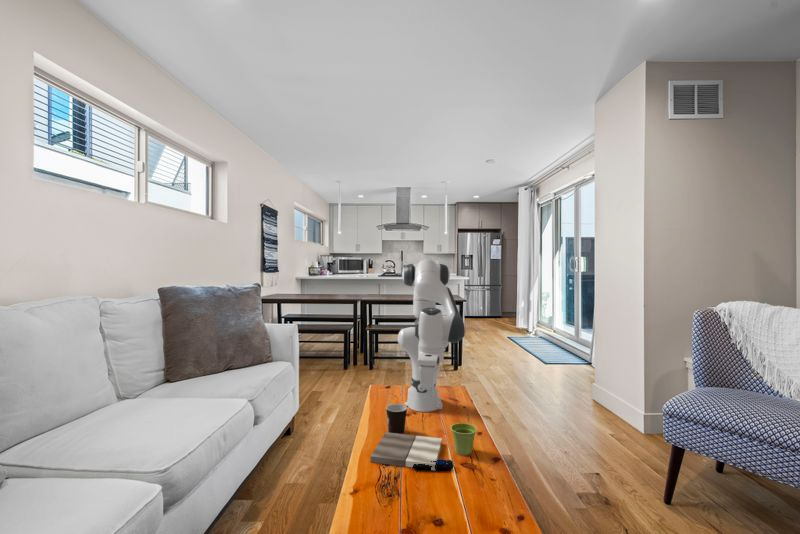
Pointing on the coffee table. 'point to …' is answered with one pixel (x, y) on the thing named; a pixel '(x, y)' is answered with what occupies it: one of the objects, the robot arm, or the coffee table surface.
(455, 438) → the plant pot
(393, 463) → the grey brown flat block
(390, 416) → the coffee mug
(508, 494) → the coffee table surface
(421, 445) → the ash plank
